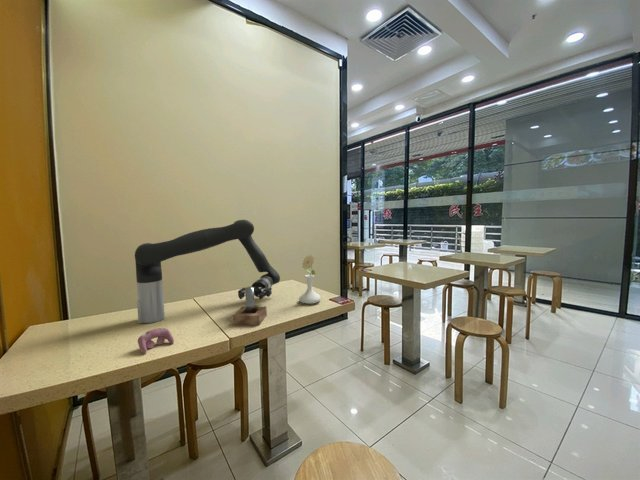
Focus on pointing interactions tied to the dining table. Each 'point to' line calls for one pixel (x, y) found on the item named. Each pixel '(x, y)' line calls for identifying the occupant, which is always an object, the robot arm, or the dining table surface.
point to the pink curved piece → (146, 338)
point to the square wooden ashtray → (249, 316)
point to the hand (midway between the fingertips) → (250, 296)
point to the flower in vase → (309, 283)
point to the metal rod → (249, 299)
